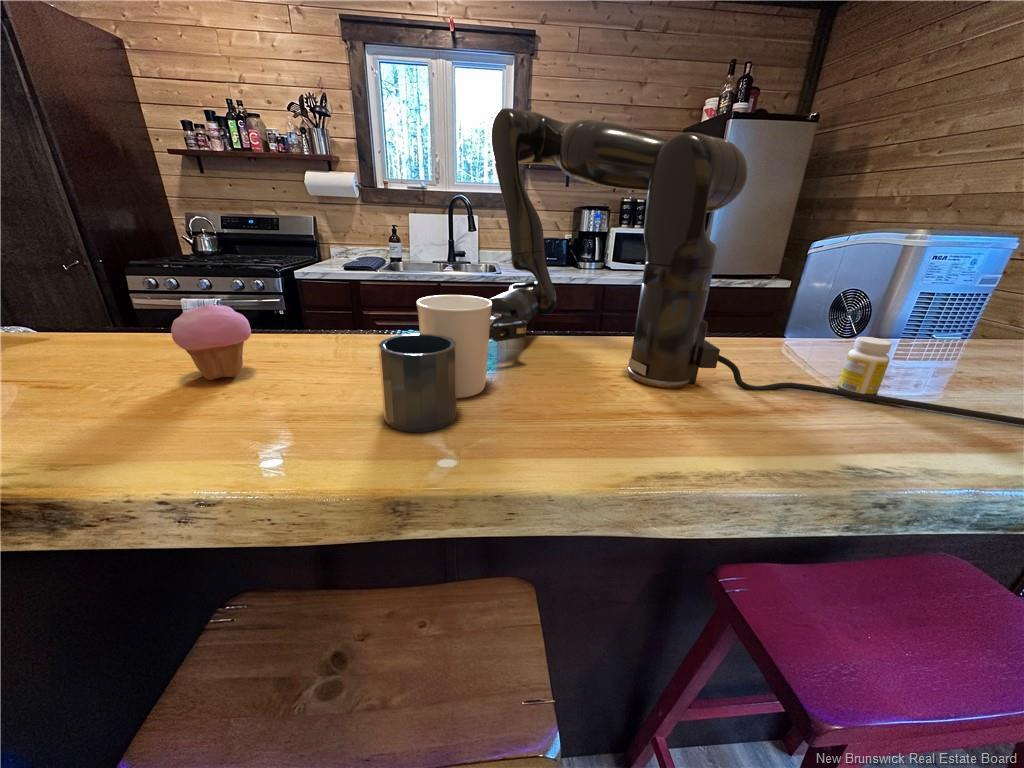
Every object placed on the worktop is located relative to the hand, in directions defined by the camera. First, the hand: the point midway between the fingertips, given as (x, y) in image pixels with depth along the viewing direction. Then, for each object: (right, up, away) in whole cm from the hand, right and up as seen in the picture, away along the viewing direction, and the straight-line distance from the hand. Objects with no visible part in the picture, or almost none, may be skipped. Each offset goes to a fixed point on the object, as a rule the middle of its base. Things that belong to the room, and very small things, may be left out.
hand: (468, 338), depth 63 cm
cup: (-5, -10, -11) cm, 16 cm away
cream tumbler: (-2, -7, -2) cm, 7 cm away
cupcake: (-35, -6, -1) cm, 35 cm away
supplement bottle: (+57, -8, +2) cm, 58 cm away
